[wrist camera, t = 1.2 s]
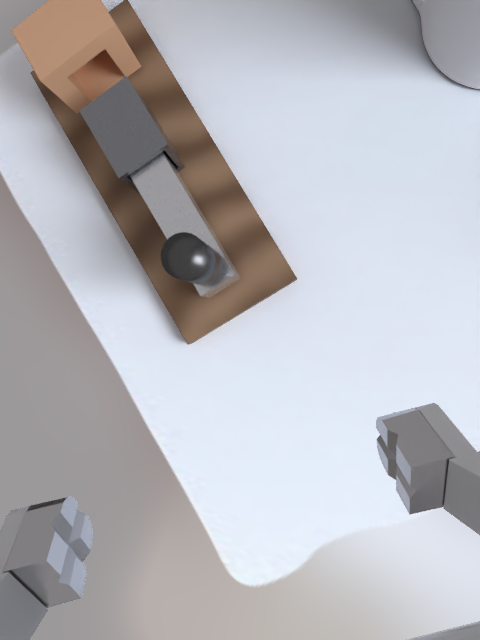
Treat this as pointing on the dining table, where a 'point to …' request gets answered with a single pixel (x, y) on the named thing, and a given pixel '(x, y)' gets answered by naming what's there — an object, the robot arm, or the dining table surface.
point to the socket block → (76, 49)
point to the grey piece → (183, 229)
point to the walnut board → (201, 180)
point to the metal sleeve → (127, 130)
